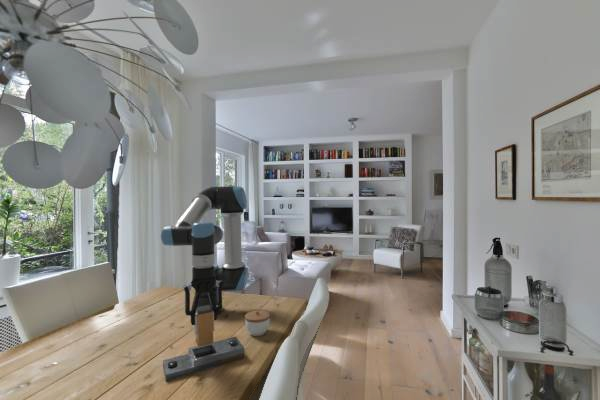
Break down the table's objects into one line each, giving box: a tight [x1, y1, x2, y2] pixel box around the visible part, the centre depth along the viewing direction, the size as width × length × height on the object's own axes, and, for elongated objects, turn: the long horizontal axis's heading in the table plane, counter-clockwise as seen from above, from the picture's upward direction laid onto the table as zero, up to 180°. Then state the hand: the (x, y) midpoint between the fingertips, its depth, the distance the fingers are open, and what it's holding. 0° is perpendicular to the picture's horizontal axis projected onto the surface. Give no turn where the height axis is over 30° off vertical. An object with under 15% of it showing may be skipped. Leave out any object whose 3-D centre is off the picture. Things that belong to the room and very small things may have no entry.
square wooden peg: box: [195, 305, 214, 347], centre depth 104 cm, size 5×5×12 cm
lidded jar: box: [244, 310, 271, 337], centre depth 127 cm, size 11×11×9 cm
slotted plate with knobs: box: [162, 336, 245, 382], centre depth 105 cm, size 10×26×5 cm, turn 120°
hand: (204, 331), depth 104 cm, fingers closed on square wooden peg, 5 cm apart
